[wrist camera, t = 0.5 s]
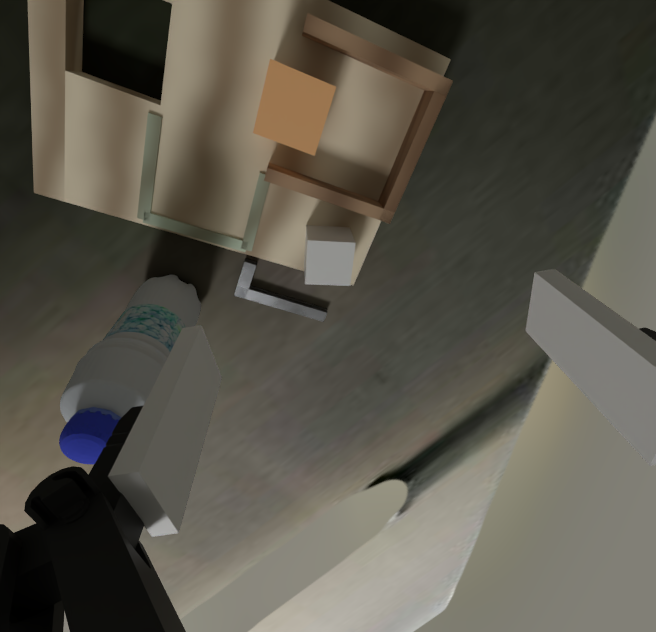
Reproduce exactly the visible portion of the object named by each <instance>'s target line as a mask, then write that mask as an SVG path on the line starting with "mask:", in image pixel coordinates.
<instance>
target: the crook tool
mask: <svg viewBox="0 0 656 632" xmlns="http://www.w3.org/2000/svg"><path fill="white" fill-rule="evenodd" d="M256 265H257V262H256V261H253V260H250V259H247V258H245V261H244V265H243V268H242V271H241V274H240V278H239V281H238V284H237V287H236V290H235V294H234V296H238V297H241V298H245V299H248V300H251V301H255V302H258V303H262V304H265V305H268V306H272V307H275V308H278V309H282V310H285V311H289V312H292V313H295V314H299V315H302V316H306V317H309V318H312V319H316V320H319V321H324V319H325V317H326V315H327V309H326V308H323V307H320V306H317V305H313V304H310V303H307V302H304V301H300V300H297V299H294V298H291V297H287V296H284V295H281V294H278V293H274V292H271V291H268V290H264V289H261V288H258V287H255V286H251V285H250V283H251V280H252V277H253V274H254V271H255V268H256Z"/></svg>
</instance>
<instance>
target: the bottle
mask: <svg viewBox="0 0 656 632" xmlns="http://www.w3.org/2000/svg"><path fill="white" fill-rule="evenodd" d="M200 311H201V303H200V301H199V299H198V297H197V293H196V289H195V287H194V286H193V285H192V284H186V283H184V282H182V281H180V280H179V279H178V277H177V276H176V275H167V276H164V277H158V278H157V277H153V278H150V279H148V280H147V281H146V282H144V283H143V284H142V285H141V286H140V287H139V289H138V290H137V291H136V292H135V294H134V296H133V297H132V299H131V301H130V302H129V304H128V306H127V308H126V310H125V311H124V313H123V314H122V315H121V316H120V318H119V319H118V320H117V322H116V323H115V324H114V326H113V327H112V328H111V330H110V331H109V332H108V334H107V335H106V336H105V338H104V339H103V341H101V342H99V343H97V344H95V345H94V346H93V347H92V348H91V349H89V351H88V352H87V354H86V355H85V356H84V357H83V358H82V359H81V360H80V361H79V362H78V364H77V366H76V368H75V371H74V373H73V375H72V377H71V379H70V381H69V383H68V385H67V387H66V389H65V391H64V393H63V395H62V397H61V401H60V409H61V413H62V415H63V417H64V419H65V420H66V421H67V424H66V426H65V427H64V429H63V431H62V433H61V435H60V439H59V441H60V442H59V444H60V448H61V450H62V452H63V453H64V454H65V455H66V456H67V457H68V458H70V459H72V460H73V461H76V462H79V463H83V464H95V463H96V461H97V459H98V457H99V455H100V454H101V452H102V450H103V448H104V447H106V443H107V441H108V439H109V437H110V436H112V432H113V430H114V428H115V427H116V425H117V423H118V421H119V420H120V419H121V418H122V417H123V416H124V415H125V414H126V413H127V412H128V411H129V410H130V409H131V408H132V407H137V406H144V404H145V402H146V400H147V398H148V396H149V394H150V392H151V390H152V388H153V386H154V384H155V382H156V380H157V378H158V376H159V374H160V372H161V370H162V368H163V366H164V364H165V362H166V360H167V358H168V356H169V354H170V352H171V350H172V348H173V346H174V344H175V342H176V340H177V338H178V336H179V334H180V332H181V330H182V328H186V327H192V326H195V325H196V323H197V320H198V318H199V315H200Z"/></svg>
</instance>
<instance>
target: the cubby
mask: <svg viewBox="0 0 656 632" xmlns="http://www.w3.org/2000/svg"><path fill="white" fill-rule="evenodd" d="M302 36H304V37H306V38H309V39H311V40H313V41H315V42H317V43H320V44H322V45H324V46H326V47H329V48H331V49H333V50H335V51H337V52H340V53H342V54H344V55H346V56H349V57H351V58H353V59H355V60H357V61H360V62H362V63H364V64H366V65H369V66H371V67H373V68H375V69H377V70H380V71H382V72H384V73H386V74H389V75H391V76H393V77H395V78H397V79H400V80H402V81H404V82H406V83H409V84H411V85H413V86H415V87H417V88H420V89H422V90H424V92H423V94H422V97H421V99H420V102H419V104H418V106H417V109H416V111H415V114H414V116H413V118H412V121H411V123H410V126H409V128H408V130H407V133H406V135H405V138H404V140H403V143H402V145H401V147H400V150H399V152H398V155H397V157H396V159H395V162H394V164H393V167H392V169H391V171H390V174H389V176H388V179H387V181H386V183H385V186H384V188H383V191H382V193H381V195H380V198H379V200H378V201H376V200H374V199H371V198H368V197H365V196H362V195H359V194H357V193H354V192H351V191H348V190H345V189H343V188H340V187H337V186H334V185H331V184H329V183H326V182H323V181H320V180H317V179H315V178H312V177H309V176H306V175H303V174H300V173H298V172H295V171H292V170H289V169H286V168H284V167H281V166H278V165H275V164H272V163H270V162H269V164H268V167H267V171H266V175H265V179H264V181H266V182H269V183H272V184H275V185H278V186H281V187H284V188H287V189H290V190H293V191H296V192H299V193H302V194H304V195H307V196H310V197H313V198H316V199H319V200H322V201H325V202H328V203H331V204H334V205H337V206H339V207H342V208H345V209H348V210H351V211H354V212H357V213H360V214H363V215H366V216H369V217H372V218H375V219H377V220H380V221H383V222H386V223H389V224H390V222H391V220H392V218H393V215H394V213H395V211H396V208H397V206H398V204H399V202H400V199H401V197H402V195H403V193H404V190H405V188H406V186H407V184H408V181H409V179H410V177H411V175H412V172H413V170H414V168H415V166H416V163H417V161H418V159H419V157H420V154H421V152H422V150H423V148H424V145H425V143H426V141H427V139H428V136H429V134H430V132H431V130H432V127H433V125H434V123H435V121H436V118H437V116H438V114H439V112H440V109H441V107H442V105H443V103H444V100H445V98H446V96H447V94H448V91H449V89H450V87H451V85H452V82H453V81H452V80H450V79H448V78H446V77H443V76H441V75H439V74H437V73H435V72H433V71H431V70H428V69H426V68H424V67H422V66H420V65H418V64H416V63H414V62H411V61H409V60H407V59H405V58H403V57H401V56H399V55H396V54H394V53H392V52H390V51H388V50H386V49H384V48H381V47H379V46H377V45H375V44H373V43H371V42H369V41H366V40H364V39H362V38H360V37H358V36H356V35H354V34H351V33H349V32H347V31H345V30H343V29H341V28H339V27H336V26H334V25H332V24H330V23H328V22H326V21H324V20H321V19H319V18H317V17H315V16H313V15H311V14H309V13H307V17H306V21H305V25H304V29H303V33H302Z"/></svg>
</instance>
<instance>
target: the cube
mask: <svg viewBox="0 0 656 632" xmlns="http://www.w3.org/2000/svg"><path fill="white" fill-rule="evenodd" d="M335 90H336V86H333V85H331V84H329V83H326V82H324V81H322V80H319V79H317V78H315V77H312V76H310V75H307V74H305V73H303V72H300V71H298V70H296V69H293V68H291V67H289V66H286V65H284V64H282V63H279V62H277V61H275V60H272V59H270V61H269V66H268V70H267V74H266V79H265V83H264V87H263V92H262V96H261V100H260V105H259V109H258V113H257V118H256V122H255V126H254V130H253V133H254V134H257V135H260V136H262V137H265V138H268V139H270V140H273V141H276V142H278V143H281V144H284V145H286V146H289V147H292V148H295V149H297V150H300V151H303V152H305V153H308V154H311V155H313V156H315V153H316V150H317V147H318V144H319V141H320V138H321V134H322V131H323V128H324V125H325V122H326V119H327V115H328V112H329V109H330V106H331V103H332V99H333V96H334V93H335Z"/></svg>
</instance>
